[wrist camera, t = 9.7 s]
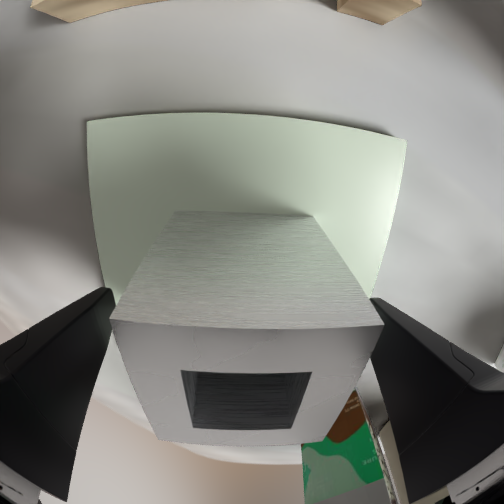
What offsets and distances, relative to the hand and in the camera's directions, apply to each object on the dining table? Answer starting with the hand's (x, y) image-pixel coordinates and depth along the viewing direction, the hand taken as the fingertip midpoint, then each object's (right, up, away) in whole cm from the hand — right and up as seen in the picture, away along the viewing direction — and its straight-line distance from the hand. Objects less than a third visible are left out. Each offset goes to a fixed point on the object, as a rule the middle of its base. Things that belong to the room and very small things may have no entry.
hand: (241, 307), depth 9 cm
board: (0, +1, +3) cm, 3 cm away
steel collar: (0, +1, +2) cm, 2 cm away
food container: (+6, -10, +9) cm, 15 cm away
